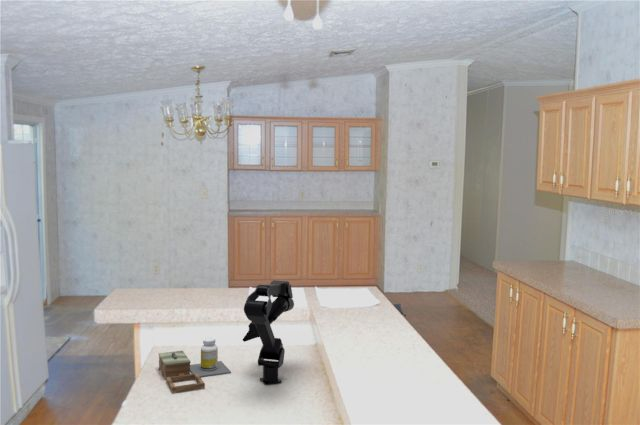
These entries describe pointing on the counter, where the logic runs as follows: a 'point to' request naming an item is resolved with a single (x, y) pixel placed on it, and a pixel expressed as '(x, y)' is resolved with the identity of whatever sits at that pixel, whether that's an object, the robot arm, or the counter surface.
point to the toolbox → (178, 372)
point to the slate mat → (202, 373)
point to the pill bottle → (209, 355)
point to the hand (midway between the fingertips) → (246, 337)
